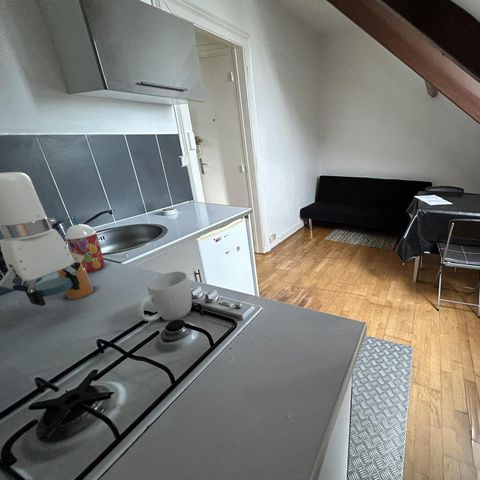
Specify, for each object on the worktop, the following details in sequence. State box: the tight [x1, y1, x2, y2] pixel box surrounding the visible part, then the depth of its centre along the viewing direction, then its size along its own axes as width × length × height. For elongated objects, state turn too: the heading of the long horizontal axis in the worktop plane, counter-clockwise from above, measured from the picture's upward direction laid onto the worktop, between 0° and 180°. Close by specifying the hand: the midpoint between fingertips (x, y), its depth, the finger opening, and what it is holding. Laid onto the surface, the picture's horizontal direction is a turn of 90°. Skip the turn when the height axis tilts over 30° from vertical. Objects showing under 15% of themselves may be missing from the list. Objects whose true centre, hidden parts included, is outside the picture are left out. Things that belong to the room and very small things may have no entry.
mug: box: [136, 271, 193, 322], centre depth 65 cm, size 13×9×10 cm
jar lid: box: [35, 277, 73, 298], centre depth 64 cm, size 7×7×2 cm
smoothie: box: [64, 216, 105, 273], centre depth 91 cm, size 8×8×20 cm
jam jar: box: [57, 264, 94, 300], centre depth 77 cm, size 6×6×10 cm
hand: (58, 295), depth 65 cm, fingers closed on jar lid, 6 cm apart
